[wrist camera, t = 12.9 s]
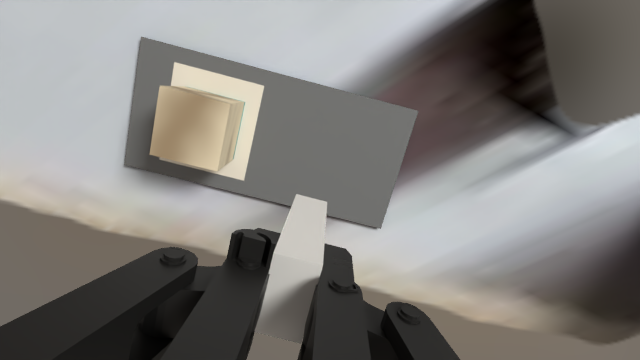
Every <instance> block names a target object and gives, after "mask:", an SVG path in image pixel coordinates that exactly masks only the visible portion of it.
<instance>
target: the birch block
mask: <svg viewBox="0 0 640 360" xmlns="http://www.w3.org/2000/svg"><path fill="white" fill-rule="evenodd" d="M244 106H245V102H244V101H240V100H236V99H232V98H228V97H225V96H221V95H217V94H213V93H209V92H206V91H202V90H198V89H194V88H190V87H186V86H160V87H159V94H158V100H157V107H156V114H155V121H154V127H153V134H152V141H151V148H150V154H149V155H153V156H157V157H161V158H165V159H169V160H173V161H177V162H181V163H185V164H189V165H193V166H197V167H201V168H205V169H209V170H213V171H219V170H220V169H221V168H223V167H224V166H225V165H227V164H228V163H229V162H231V161H232V160H233V159H234V155H235V150H236V145H237V140H238V135H239V131H240V126H241V121H242V116H243V111H244Z"/></svg>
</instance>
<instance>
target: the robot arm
mask: <svg viewBox="0 0 640 360" xmlns="http://www.w3.org/2000/svg"><path fill="white" fill-rule="evenodd" d="M326 214H327V202H326V201H322V200H318V199H314V198H310V197H306V196H302V195H298V194H296V196H295V199H294V201H293V204H292V207H291V209H290V212H289V214H288V217H287V219H286V222H285V225H284V227H283V230H282V232H281V233H277V232H273V231H269V230H265V229H261V228H257V229H255V230H252V229H241V230H236V231H235V232H233V233H232V235H231V240H230V245H229V250H228V255H227V259H226V260H225V262H224V263H223V265H222V266H216V267H205V266H197V263H198V258H197V257H196V255H195V254H193V253H192V252H190V251H188V250H184V249H182V248H177V247H176V248H175V247H169V248H161V249H158V250H155V251H152V252H150V253H148V254H146V255H144V256H142V257H140V258H138V259H136V260H134V261H132V262H130V263H128V264H126V265H124V266H122V267H120V268H118V269H116V270H114V271H112V272H110V273H108V274H106V275H104V276H102V277H100V278H98V279H96V280H94V281H92V282H90V283H88V284H86V285H83V286H81V287H79V288H77V289H75V290H74V291H72V292H69V293H67V294H65V295H63V296H61V297H59V298H57V299H55V300H53V301H51V302H49V303H47V304H45V305H43V306H41V307H39V308H37V309H35V310H33V311H31V312H29V313H27V314H25V315H23V316H21V317H19V318H17V319H15V320H13V321H11V322H9V323H7V324H5V325H3V326H1V327H0V360H246V359H247V356H248V353H249V350H250V347H251V344H252V340H253V336H254V332H256V333H260V334H264V335H268V336H272V337H277V338H281V339H285V340H288V341H293V342H297V343H301V342H302V339H303V342H302V345H301V349H300V353H299V356H298V360H460V359H459V357H458V356H457V355H456V353H455V352H454V351H453V349H452V348H451V347H450V345H449V344H448V343H447V342H446V340H445V339H444V337H443V336H442V335H441V333H440V332H439V330H438V329H437V328H436V326H435V325H434V324H433V322H432V321H431V320H430V318H429V317H428V316H427V315H426V314H425V313H424V312H422V311H421V310H419V309H418V308H417V307H415V306H413V305H411V304H408V303H402V302H391V303H389V304H388V305H387V307H386V309H385V311H382V310H380V309H378V308H376V307H374V306H372V305H370V304H368V303H367V302H365V301H364V300H363V297H362V291H361V289H360V287H359V286H358V285H357V284H356V283H355V282H354V273H353V264H352V256H351V254H350V253H349V252H348V251H347V250H346V249H344V248H340V247H336V246H332V245H328V244H324V243H325V228H326ZM303 336H304V337H303Z"/></svg>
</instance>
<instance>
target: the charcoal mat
mask: <svg viewBox="0 0 640 360" xmlns="http://www.w3.org/2000/svg"><path fill="white" fill-rule="evenodd" d="M160 86H186V87H190V88H194V89H198V90H202V91H206V92H209V93H213V94H217V95H221V96H225V97H228V98H232V99H236V100H240V101H244V102H245V106H244V111H243V116H242V121H241V126H240V131H239V135H238V140H237V145H236V150H235V155H234V159H233V160H232V161H231V162H229V163H228V164H227V165H225V166H224V167H223V168H221V169H220V170H219V171H213V170H209V169H205V168H201V167H197V166H193V165H189V164H185V163H181V162H177V161H173V160H169V159H165V158H161V157H157V156H153V155H149V154H150V148H151V141H152V134H153V127H154V121H155V114H156V107H157V100H158V94H159V87H160ZM417 113H418V111H417V110H413V109H409V108H405V107H402V106H398V105H394V104H390V103H387V102H383V101H379V100H376V99H372V98H368V97H364V96H361V95H357V94H353V93H349V92H346V91H342V90H338V89H334V88H331V87H327V86H323V85H320V84H316V83H312V82H308V81H305V80H301V79H297V78H293V77H290V76H286V75H282V74H278V73H275V72H271V71H267V70H264V69H260V68H256V67H252V66H249V65H245V64H241V63H237V62H234V61H230V60H226V59H222V58H219V57H215V56H211V55H208V54H204V53H200V52H196V51H193V50H189V49H185V48H181V47H178V46H174V45H170V44H166V43H163V42H159V41H155V40H152V39H148V38H144V37H141V42H140V49H139V57H138V64H137V72H136V80H135V87H134V95H133V102H132V110H131V118H130V125H129V133H128V140H127V148H126V156H125V163H124V165H127V166H131V167H135V168H139V169H143V170H147V171H151V172H155V173H159V174H163V175H167V176H171V177H175V178H180V179H184V180H188V181H192V182H196V183H200V184H204V185H208V186H212V187H216V188H220V189H224V190H228V191H232V192H236V193H240V194H244V195H248V196H252V197H256V198H260V199H264V200H268V201H272V202H276V203H280V204H284V205H288V206H292V204H293V201H294V199H295V196H296V194H298V195H302V196H306V197H310V198H314V199H318V200H322V201H326V202H327V214H326V215H328V216H332V217H336V218H340V219H344V220H348V221H352V222H356V223H360V224H364V225H368V226H372V227H376V228H380V229H381V226H382V223H383V220H384V217H385V214H386V211H387V207H388V204H389V201H390V198H391V195H392V192H393V189H394V185H395V182H396V179H397V176H398V173H399V170H400V167H401V164H402V160H403V157H404V154H405V151H406V148H407V145H408V142H409V138H410V135H411V132H412V129H413V126H414V123H415V120H416V117H417Z"/></svg>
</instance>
